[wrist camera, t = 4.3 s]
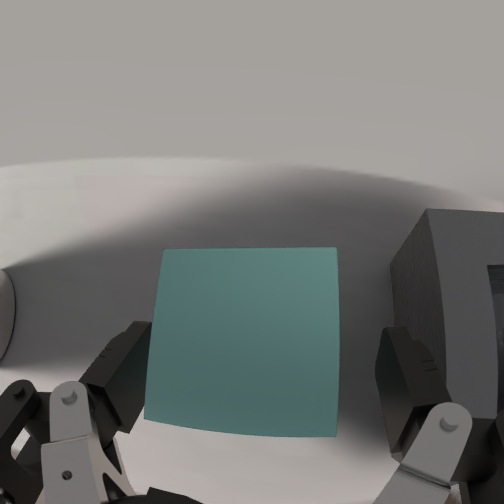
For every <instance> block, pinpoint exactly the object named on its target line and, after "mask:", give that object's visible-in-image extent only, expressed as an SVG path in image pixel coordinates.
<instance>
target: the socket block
mask: <svg viewBox="0 0 504 504" xmlns="http://www.w3.org/2000/svg"><path fill="white" fill-rule="evenodd" d="M390 267H391V277H392V287H393V299H394V314H395V327H406V328H407V330H408V332H409V335H410V337H411V339H412V341H415V340H419V341H421V342H422V343H423V344H424V345H425V346H426V347H427V348H428V349H429V350H430V352H431V354H432V357H433V359H434V362H435V363H436V365H437V367H438V371H439V372H440V374H441V376H442V378H443V381H444V383H445V385H446V387H447V390H448V392H449V395H450V397H451V399H452V402H453V403H456V404H459V405H461V406H463V407H464V408H465V409H466V410H467V411H468V412H469V413H470V415H471V417H473V418H488V419H495V418H496V417H497V415H498V414H499V412H500V411H501V410H502V409H504V213H499V212H484V211H467V210H447V209H426V210H425V211H424V213H423V215H422V216H421V218H420V219H419V221H418V222H417V224H416V226H415V227H414V229H413V230H412V232H411V233H410V235H409V236H408V238H407V239H406V241H405V242H404V244H403V245H402V247H401V248H400V250H399V251H398V253H397V254H396V256H395V257H394V258H393V260H392V261H391V263H390ZM392 458H394V459H395V460H396V461H398V462H399V463H400V464H401V462H402V460H403V456H402V452H397V453H392ZM455 484H458V482H451V481H450V482H449V486H451V485H455Z"/></svg>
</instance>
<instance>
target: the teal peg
mask: <svg viewBox="0 0 504 504" xmlns="http://www.w3.org/2000/svg"><path fill="white" fill-rule="evenodd" d="M339 354H340V326H339V284H338V262H337V247H310V248H199V249H164V250H163V256H162V261H161V267H160V273H159V280H158V286H157V293H156V300H155V307H154V314H153V322H152V330H151V339H150V348H149V357H148V368H147V379H146V392H145V406H144V419H146V420H151V421H156V422H160V423H165V424H171V425H176V426H182V427H187V428H194V429H200V430H207V431H215V432H223V433H233V434H243V435H256V436H273V437H336V432H337V416H338V395H339Z"/></svg>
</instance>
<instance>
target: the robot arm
mask: <svg viewBox="0 0 504 504" xmlns="http://www.w3.org/2000/svg"><path fill="white" fill-rule="evenodd" d="M14 314H15V298H14V290H13V286H12V282H11V280H10V278H9V276H8V275H7V274H6V272H4V271H2V270H1V269H0V359H1V358H2V356H3V355H4V353H5V351H6V348H7V346H8V343H9V340H10V337H11V333H12V328H13V323H14ZM151 330H152V322H144V321H134V322H133V323H132V324H131V325H130V326H129V328H128V329H127V330H126V331H125V332H122V333H121V334H119V335H118V336H116V337H115V338H113V339H112V340H111V341H110V342H109V343H108V345H107V346H106V347H105V350H103V351H102V352H101V353H100V354H99V357H97V358H96V359H95V361H94V362H93V363H92V364H91V366H90V367H89V368H88V369H87V371H86V372H85V373H84V374H83V376H82V377H81V378H80V380H79V381H78V382H77V381H69V382H65V383H62V384H60V385H59V386H57V387H56V388H55V389H54V390H53V392H37V390H36V389H35V387H34V386H33V384H32V383H31V382H30V381H28V380H18V381H15V382H13V383H12V384H10V385H9V386H8V387H7V388H6V390H5V391H4V392H3V393H2V395H1V396H0V504H35V503H36V501H37V499H38V497H39V495H40V493H41V491H42V489H43V487H44V493H45V501H46V504H203V503H200V502H198V501H196V500H194V499H191V498H189V497H187V496H184V495H180V494H175V493H171V492H167V491H163V490H159V489H156V488H152V487H149V490H148V492H147V495H136V493H135V491H134V490H133V488H132V486H131V485H130V483H129V481H128V478H127V475H126V472H125V469H124V465H123V462H122V459H121V455H120V452H119V448H118V444H117V441H116V438H115V437H114V435H115V434H116V432H117V430H118V431H121V432H124V433H128V434H129V433H130V431H131V429H132V428H133V426H134V424H135V422H136V420H137V418H138V416H139V414H140V412H141V411H142V409H143V407H144V405H145V392H146V379H147V368H148V357H149V348H150V339H151ZM375 377H376V382H377V386H378V391H379V395H380V400H381V405H382V409H383V414H384V419H385V424H386V429H387V435H388V440H389V446H390V452H391V453H397V452H402V456H403V460H402V462H401V464H400V465H399V467H398V468H397V470H396V471H395V473H394V474H393V476H392V477H391V479H390V480H389V482H388V483H387V485H386V486H385V487H384V489H383V490H382V492H381V493H380V494H379V496H378V497H377V498H376V500H375V501H374V502H373V504H444V503H445V501H446V499H447V497H448V495H449V492H450V489H451V486H449V482H450V481H451V482H458V483H459V488H460V494H461V501H462V504H504V409H502V410H501V411H500V412H499V414H498V415H497V417H496V418H495V419H488V418H473V417H471V415H470V413H469V412H468V411H467V410H466V409H465V408H464V407H463V406H461V405H459V404H456V403H453V402H452V399H451V397H450V395H449V392H448V390H447V387H446V385H445V383H444V381H443V378H442V376H441V374H440V372H439V371H438V367H437V365H436V363H435V362H434V359H433V357H432V354H431V352H430V350H429V349H428V348H427V347H426V346H425V345H424V344H423V343H422V342H421V341H419V340H415V341H412V339H411V337H410V335H409V332H408V330H407V328H406V327H392V328H384V329H383V332H382V336H381V341H380V346H379V351H378V355H377V359H376V365H375ZM23 428H25V430H26V431H27V432H28V433H29V435H30V437H29V439H28V440H27V442H26V444H25V445H24V447H23V448H22V450H21V451H20V453H19V455H18V456H17V458H16V460H15V459H14V458H13V457H12V455H11V446H12V444H13V443H14V441H15V440H16V438H17V437H18V435H19V434H20V432H21V431H22V429H23Z"/></svg>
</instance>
